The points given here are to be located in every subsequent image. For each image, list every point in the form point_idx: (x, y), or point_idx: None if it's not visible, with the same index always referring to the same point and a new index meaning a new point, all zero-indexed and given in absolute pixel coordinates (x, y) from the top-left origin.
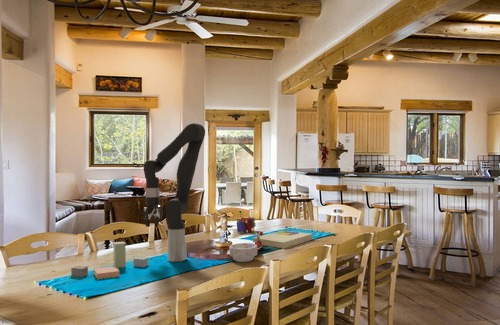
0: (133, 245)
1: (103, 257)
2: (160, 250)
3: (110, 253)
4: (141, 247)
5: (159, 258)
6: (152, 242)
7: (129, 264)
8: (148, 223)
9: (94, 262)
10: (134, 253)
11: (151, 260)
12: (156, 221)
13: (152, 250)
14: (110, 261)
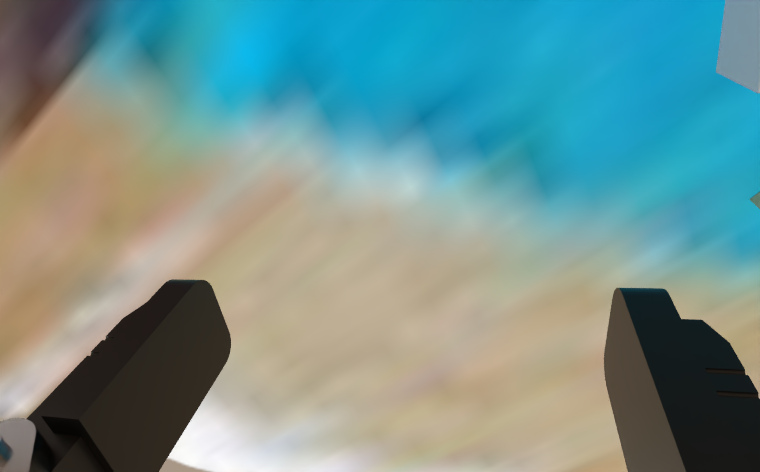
0: (191, 452)
1: (551, 444)
2: (162, 230)
3: (433, 460)
4: None
5: (397, 32)
6: None
7: (736, 151)
8: (706, 375)
9: None
10: (354, 341)
11: (508, 53)
12: (173, 383)
13: None
14: None
